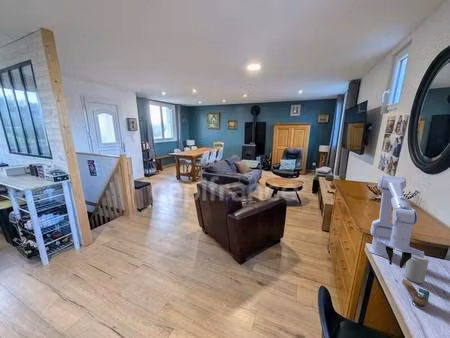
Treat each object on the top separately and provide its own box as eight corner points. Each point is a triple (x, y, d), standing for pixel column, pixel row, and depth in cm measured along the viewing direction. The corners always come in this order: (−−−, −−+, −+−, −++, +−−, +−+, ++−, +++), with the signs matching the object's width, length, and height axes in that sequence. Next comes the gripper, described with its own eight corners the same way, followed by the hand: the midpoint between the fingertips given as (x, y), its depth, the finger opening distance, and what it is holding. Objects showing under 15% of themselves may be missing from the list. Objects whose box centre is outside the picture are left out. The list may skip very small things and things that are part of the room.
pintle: (411, 299, 73) (413, 289, 73) (424, 304, 71) (426, 294, 70) (412, 305, 71) (414, 295, 70) (425, 311, 68) (428, 301, 68)
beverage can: (428, 285, 80) (433, 261, 78) (410, 283, 81) (415, 259, 79) (416, 274, 86) (421, 251, 84) (400, 272, 87) (404, 250, 85)
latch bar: (426, 308, 69) (428, 302, 68) (415, 305, 70) (416, 299, 69) (409, 285, 79) (410, 279, 79) (400, 283, 81) (401, 277, 80)
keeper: (417, 297, 74) (419, 287, 73) (426, 301, 72) (429, 291, 72) (417, 299, 73) (419, 290, 72) (427, 303, 71) (429, 293, 71)
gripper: (377, 234, 79) (373, 262, 81) (427, 247, 69) (420, 278, 72) (378, 227, 84) (374, 254, 86) (424, 239, 74) (418, 269, 77)
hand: (395, 265), depth 79 cm, fingers open, 3 cm apart
